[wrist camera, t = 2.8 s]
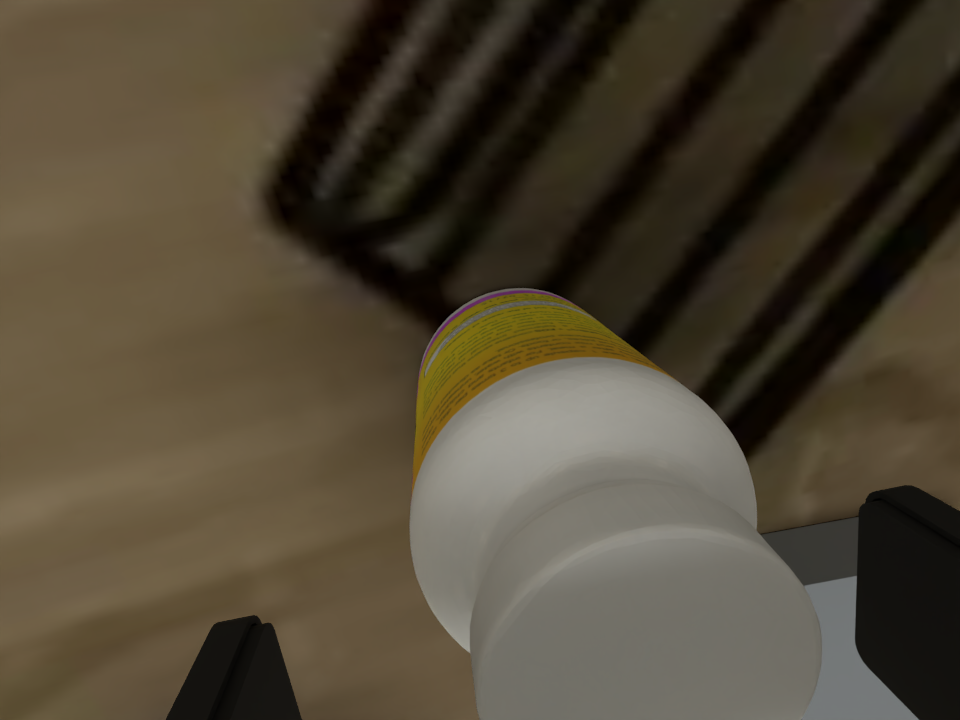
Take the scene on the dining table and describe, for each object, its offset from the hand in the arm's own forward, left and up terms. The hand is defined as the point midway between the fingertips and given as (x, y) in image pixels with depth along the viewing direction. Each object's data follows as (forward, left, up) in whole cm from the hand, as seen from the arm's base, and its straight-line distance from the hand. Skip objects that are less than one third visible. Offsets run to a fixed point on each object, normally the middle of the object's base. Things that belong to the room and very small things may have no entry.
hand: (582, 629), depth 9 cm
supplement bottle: (-1, 0, -12) cm, 12 cm away
